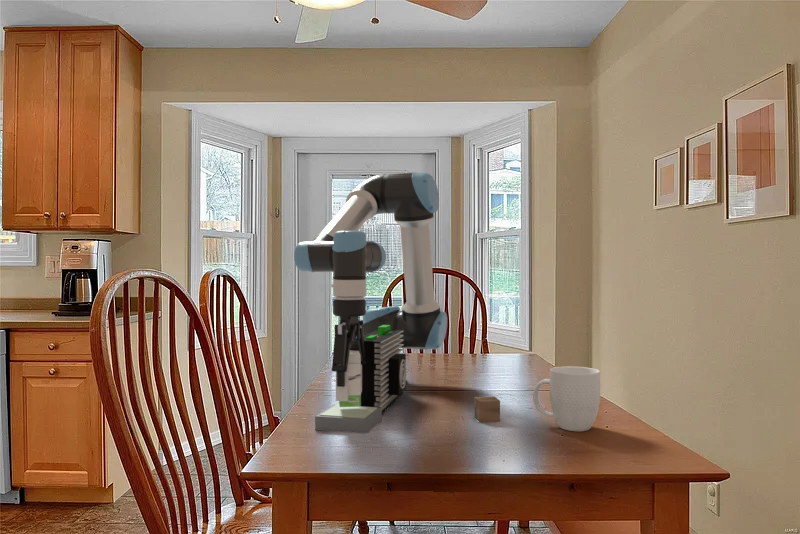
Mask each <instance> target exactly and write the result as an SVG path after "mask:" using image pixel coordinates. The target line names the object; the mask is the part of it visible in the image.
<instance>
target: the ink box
mask: <svg viewBox="0 0 800 534" xmlns="http://www.w3.org/2000/svg"><path fill="white" fill-rule="evenodd" d="M340 365H341V364H340ZM347 371H349V386H348V401H338V405H340V407H360V406H361V355H360V353H359V351H353V350H350V353H349V359H348V366H347Z"/></svg>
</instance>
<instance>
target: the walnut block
mask: <svg viewBox="0 0 800 534" xmlns="http://www.w3.org/2000/svg"><path fill="white" fill-rule="evenodd" d="M473 402H474V404H473V405H474V408H473V409H474V410H473V415H474V416H473V417H475V418H476V419H477V420H478V421H479V422H478V421H477V420H476V419H475V418H474V419H475V420H476V421H477V422H478V423H500V422H501V400H500V399H499V398H497V397H496V396H474V400H473Z"/></svg>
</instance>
